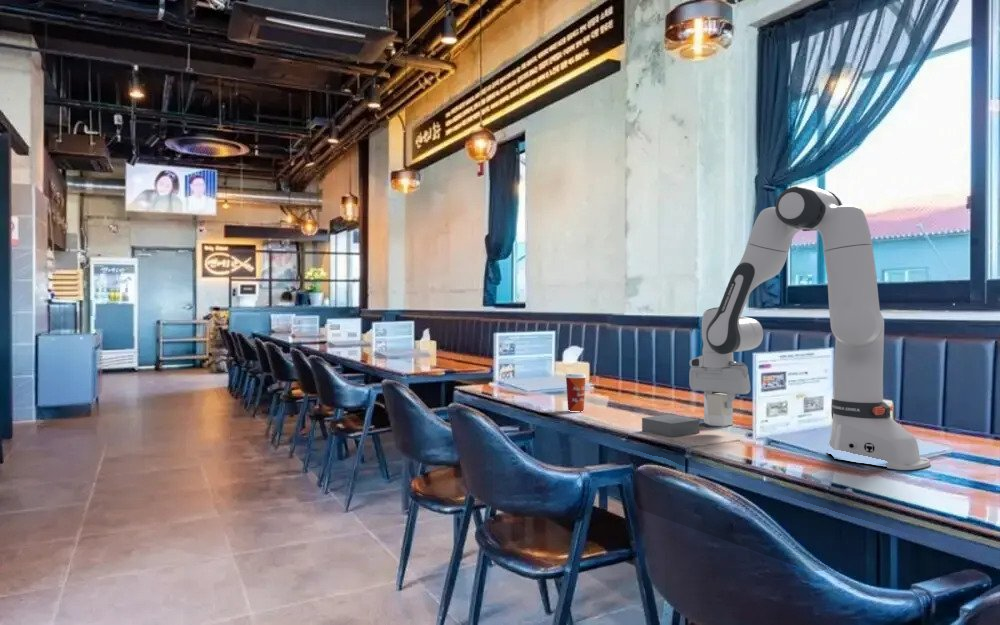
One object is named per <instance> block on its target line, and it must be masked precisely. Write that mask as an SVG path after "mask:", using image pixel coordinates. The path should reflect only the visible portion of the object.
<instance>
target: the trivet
mask: <svg viewBox="0 0 1000 625" xmlns="http://www.w3.org/2000/svg"><path fill="white" fill-rule="evenodd" d="M700 422H701V421H700V419H697V418H692V417H685V416H680V415H674V414H671V413H670V414H662V415H655V416H646V417H642V418H641V431H642V432H646V433H651V434H655V435H659V436H660V435H661V436H664V437H669V438H676V437H682V436H687V435H689V436H690V435H695V434H700V429H701V428H700V427H701V426H700V424H701V423H700Z"/></svg>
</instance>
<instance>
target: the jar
mask: <svg viewBox="0 0 1000 625" xmlns="http://www.w3.org/2000/svg"><path fill="white" fill-rule="evenodd" d="M715 393H721V392H712V394H715ZM723 394H727V393H723ZM732 413H734V401H733V402H732ZM703 423H704V424H705V425H707V426H710V427H711V426H713V427H728V425H730V426H733V424H734V414H732V415H725V416H716V415H709V414H708V405H707V399H706V398H705V396H704V395H703Z"/></svg>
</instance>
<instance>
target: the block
mask: <svg viewBox="0 0 1000 625" xmlns="http://www.w3.org/2000/svg"><path fill="white" fill-rule="evenodd" d="M727 400H728V397H727V394H723V393H715V394H707V405H708V414H709V415H716V416H725V415H732V414H733V413H734V412H733V413H732V408H725V404H724V402H727ZM733 415H734V414H733Z"/></svg>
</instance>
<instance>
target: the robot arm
mask: <svg viewBox="0 0 1000 625" xmlns="http://www.w3.org/2000/svg"><path fill="white" fill-rule="evenodd" d="M799 231H803V232H810V231H817V232H819V234H820V237H821V241H822V247H823V248H822V249H823V255H824V263H825V271H826V272H825V273H826V279H827V293H828V294H827V295H828V311H829V312H828V313H829V322H830V323H829V324H830V329H831V333H832V335H833V336H834V338H835V344H834V345H835V346H834V358H833V359H834V361H833V367H832V368H833V371H832V374H833V376H832V378H833V384H832V385H833V398H831V405H830V406H831V412H830V414H831V418H832V422H831V432H830V439H829V442H828V445H829V444H830V446H831V447H832V448H833V449H834V450H841V451H846V452H850V453H853V454H858V455H863V456H868V457H872V458H876V459H881V460H885V461H887V462H888V463H886V464H885V465H886V467H887V468H886V469H891V470H898V471H912V470H919V469H924V468H928V467H929V466H931V459H929V458H926V457H923V456H921V455H920V449H919V444H918V441H917V439H916V437H915V436H914V434H912V433H910V432H909V431H908V430H906V428H904V427H903V426H902V425H900V424H899V423H898V422H897V421H896V420H894V419H893V418H892V417H891V412H892V411H895V409H893V408H895V406H894V405H888V404H887V403H886V402H885V401H884V355H885V354H884V349H885V348H884V346H885V344H884V342H885V319H884V316H883V314H882V312H881V308H880V298H879V290H878V277H877V270H876V263H875V262H876V261H875V254H874V247H873V240H872V235H871V230H870V227H869V224H868V221H867V218H866V214H865V212H864V210H863V209H862V208H860V207H859V206H856V205H853V204H843V203H842V201H841V200H840V198H839V197H838V196H837V195H836V194H835V193H834V192H831V191H829V190H824V189H821V188H819V187H815V186H806V185H795V186H791V187H788V188H786V189H785V190H784V191H782V192H781V193H780V194H779V196H778V197H777V199H776V201H775V206H771V207H770V206H769V207H767V208H763V209H762V210H761V211H760V212H759V214H758V216H757V218H756V219H755V221H754V224H753V226H752V228H751V231H750V233H749V237H748V241H747V244H746V246H745V250H744V252H743V255H742V257H741V259H740V261H739V263H738V265H737V266H736V268H735V269H734V270H733V272H732V274H731V276H730V278H729V281H728V284H727V286H726V289H725V291H724V294H723V297H722V298H721V301H720V304H719V306H717V307H712V308H708V309H706V310H705V311H704V312H703V314H702V318H701V339H702V343H703V344H702V345H703V346H702V349H701V350H702V355H699V356H697V357H694V358H692V359H690V360H689V366H690V368H689V373H688V374H689V375H688V378H689V380H688V382H689V387H690V388H691V390H692V391H702V392H703V397H704V396H705V398H706V399H707V394H712V392H721V393H727V397H728V400H727V402H724V404H725V408H732V402H733V403H734V400H735V399H736V395H748V394H749V393H750V392H751V381H750V375H749V369H748V366H747V365H746V364H745V363H744V362H742V361H738V362H737V361H735V360H734V353H735V352H745V351H751V350H754V349H757V348H759V346H761V345H762V344H763V340H764V338H765V337H764V336H765V335H764V334H765V333H764V328H763V326H762V324H761V323H760V321H758V320H757V319H754V318H751V317H747V316H744V315H742V314H743V312H744V308H745V306H746V304H747V301H748V299H749V296H750V294H751V293H752V291H753V290H755V289H756V288H757V287H758V286H759V285H761V284H763V283H764V282H767V281H768V280H770V279H773V278H775V277H776V276H777V275H778V274H780V273H781V271H782V269H783V268H784V266H785V263H786V261H787V258H788V254H789V251H790V249H791V248H790V247H791V245H792V241H793V239H794V237H795V235H796V234H797V233H799Z"/></svg>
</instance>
